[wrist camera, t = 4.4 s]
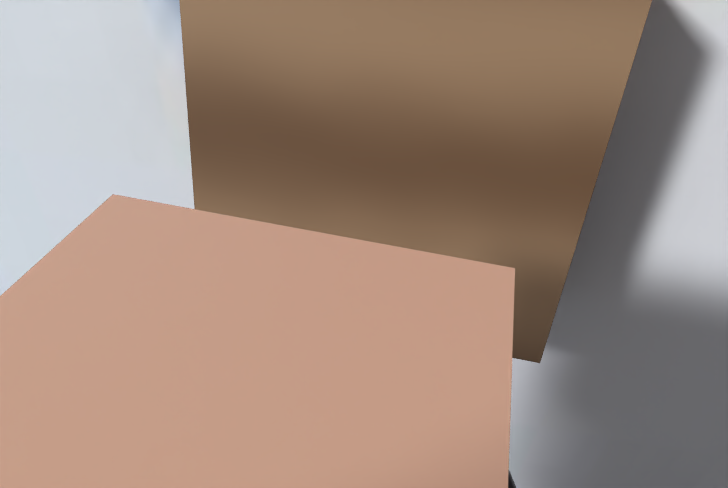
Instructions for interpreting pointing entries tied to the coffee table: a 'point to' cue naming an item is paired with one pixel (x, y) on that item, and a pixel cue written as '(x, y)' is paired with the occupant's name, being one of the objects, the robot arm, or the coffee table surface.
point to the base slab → (413, 124)
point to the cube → (251, 359)
